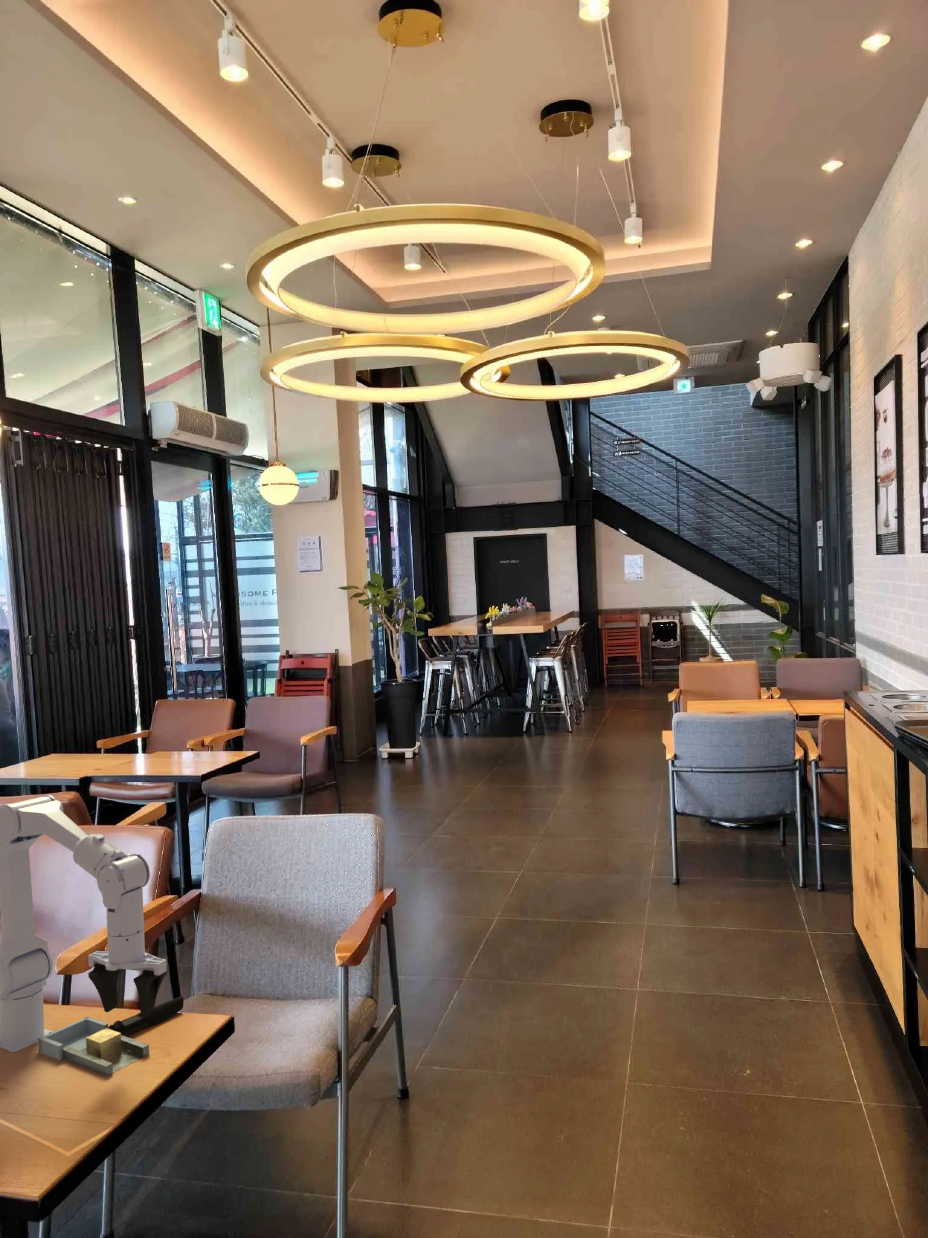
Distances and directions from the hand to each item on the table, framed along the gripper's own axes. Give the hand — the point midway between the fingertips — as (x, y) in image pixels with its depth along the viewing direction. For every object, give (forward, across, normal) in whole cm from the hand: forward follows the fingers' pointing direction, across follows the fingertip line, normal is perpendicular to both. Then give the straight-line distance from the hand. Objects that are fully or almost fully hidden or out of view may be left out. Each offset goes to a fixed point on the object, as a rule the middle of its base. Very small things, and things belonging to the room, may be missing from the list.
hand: (128, 1012), depth 148 cm
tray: (+10, -16, +4) cm, 19 cm away
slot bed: (+10, -7, +2) cm, 13 cm away
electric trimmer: (+10, -9, +14) cm, 19 cm away
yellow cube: (+9, -8, +2) cm, 12 cm away
